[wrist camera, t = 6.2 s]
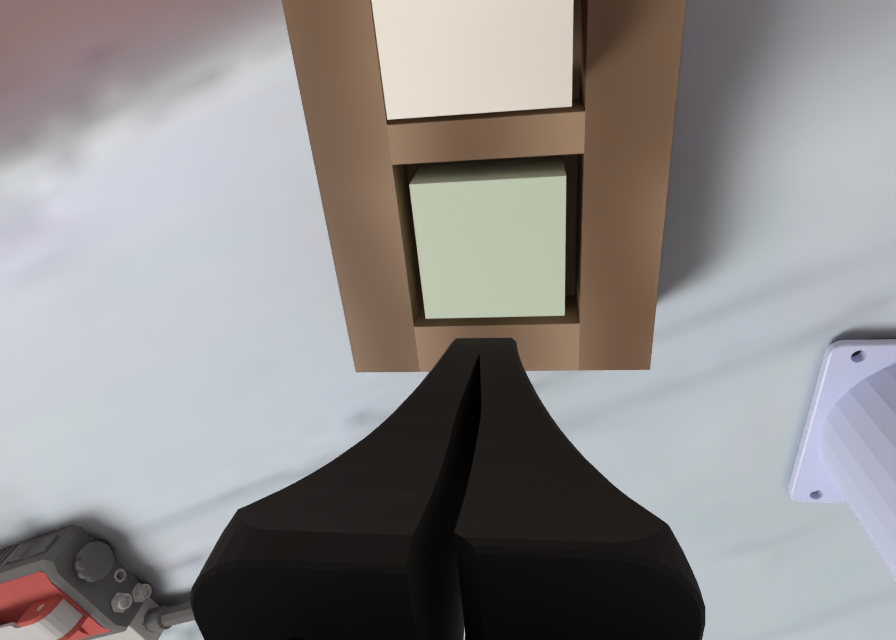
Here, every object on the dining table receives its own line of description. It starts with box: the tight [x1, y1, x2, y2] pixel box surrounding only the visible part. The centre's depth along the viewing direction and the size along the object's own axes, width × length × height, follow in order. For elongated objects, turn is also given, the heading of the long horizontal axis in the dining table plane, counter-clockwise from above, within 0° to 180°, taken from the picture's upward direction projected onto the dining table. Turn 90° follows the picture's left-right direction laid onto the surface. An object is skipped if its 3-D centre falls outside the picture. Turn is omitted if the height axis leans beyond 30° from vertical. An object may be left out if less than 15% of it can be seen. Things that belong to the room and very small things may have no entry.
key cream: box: [371, 0, 573, 120], centre depth 14 cm, size 4×4×2 cm
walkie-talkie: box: [0, 525, 195, 640], centre depth 33 cm, size 9×4×20 cm
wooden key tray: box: [282, 0, 686, 372], centre depth 16 cm, size 10×22×4 cm, turn 5°
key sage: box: [409, 156, 566, 319], centre depth 18 cm, size 4×4×2 cm
